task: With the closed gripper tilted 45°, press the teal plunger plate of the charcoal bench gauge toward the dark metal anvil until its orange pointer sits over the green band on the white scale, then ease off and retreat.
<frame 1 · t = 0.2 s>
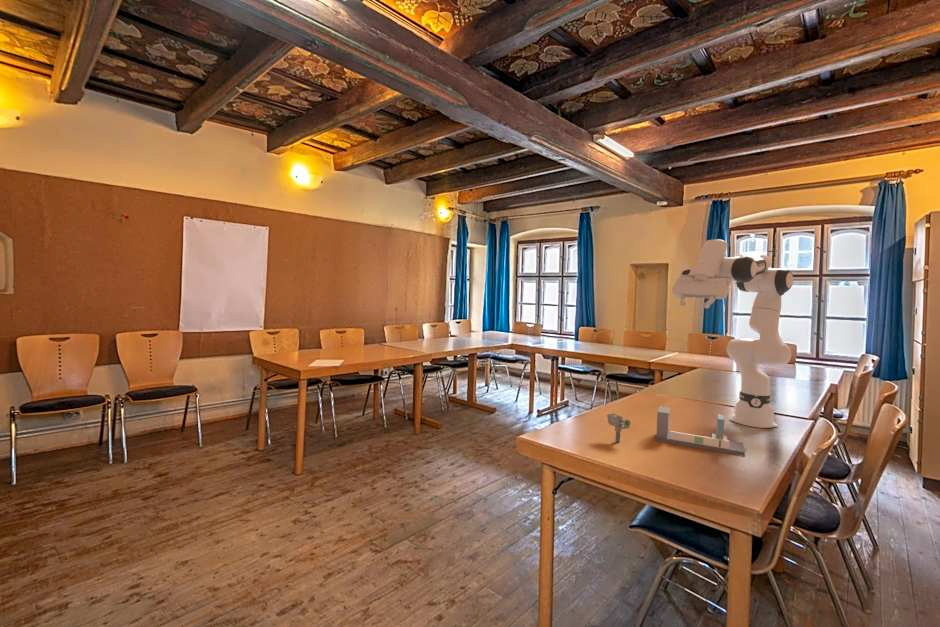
hand: (693, 306, 168), 54 cm above the table, tool tilted 30°, fingers open, 8 cm apart
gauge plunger: (720, 430, 167), point 7 cm above the table, slide at 0.0 cm
mechanical component: (617, 442, 170), on the table
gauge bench: (698, 443, 171), on the table
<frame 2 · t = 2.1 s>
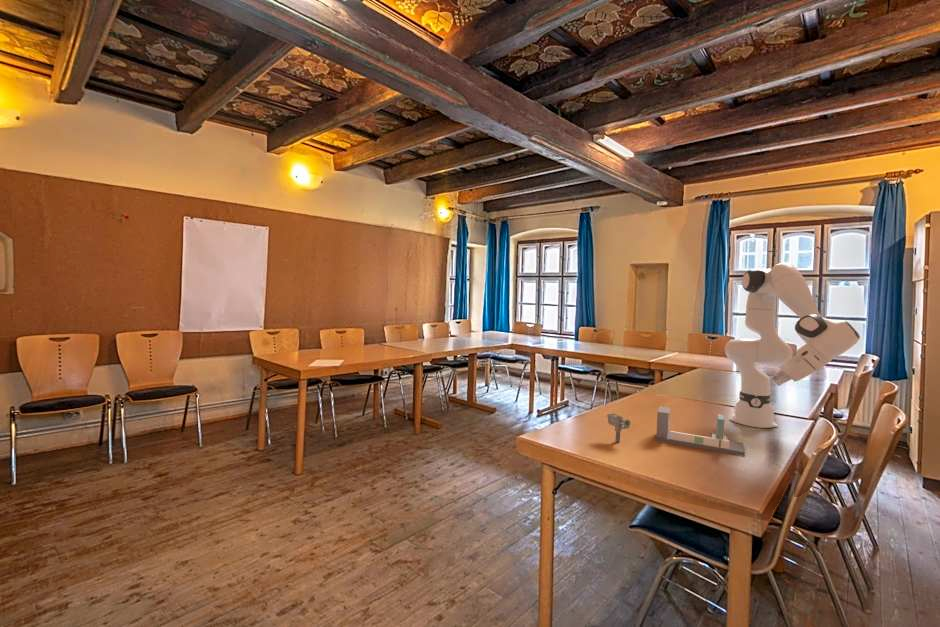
hand: (774, 382, 159), 27 cm above the table, tool tilted 45°, fingers open, 7 cm apart
nothing on the table moved.
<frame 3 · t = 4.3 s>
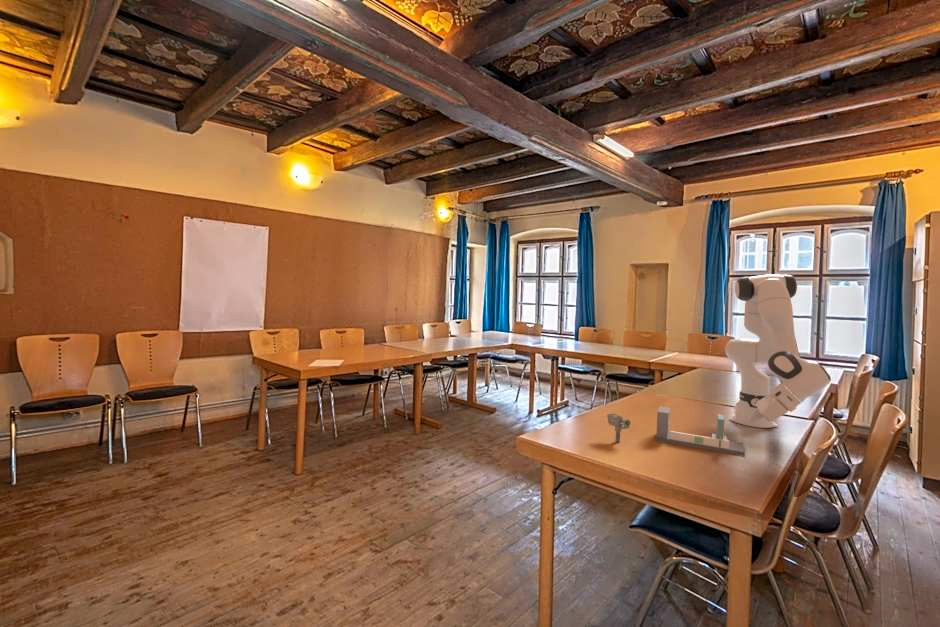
hand: (750, 419, 162), 12 cm above the table, tool tilted 45°, fingers closed
nothing on the table moved.
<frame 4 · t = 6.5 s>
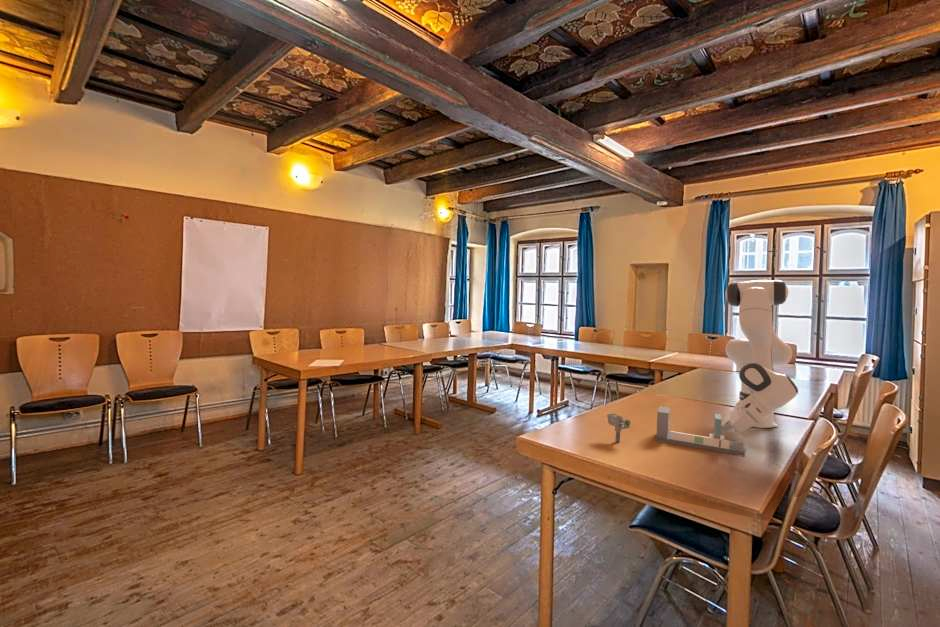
hand: (722, 429, 167), 7 cm above the table, tool tilted 45°, fingers closed, pressing on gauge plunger
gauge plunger: (717, 430, 167), point 7 cm above the table, slide at 0.9 cm, touching gripper
everything else where it was.
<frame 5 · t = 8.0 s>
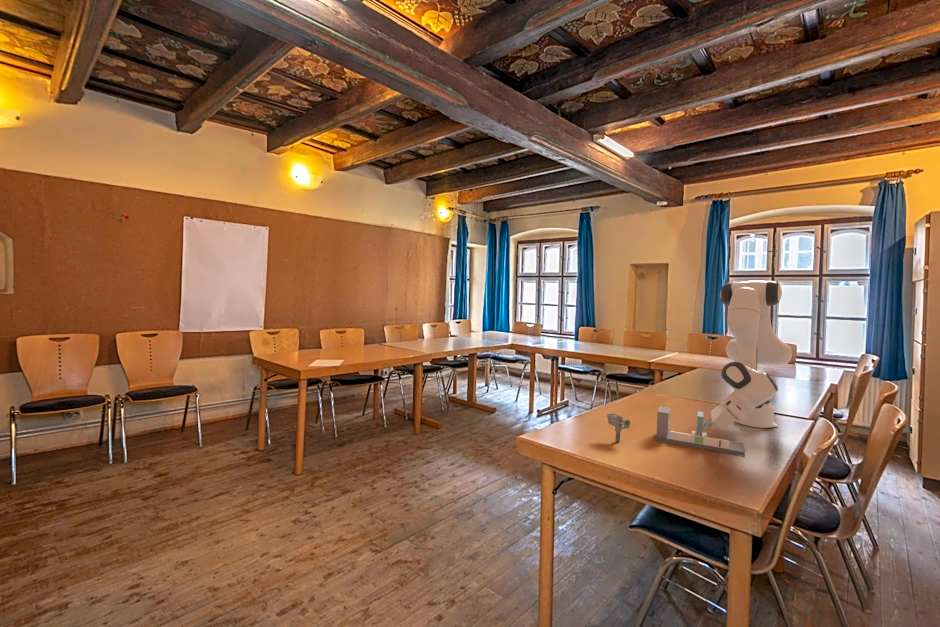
hand: (704, 427, 170), 7 cm above the table, tool tilted 45°, fingers closed, pressing on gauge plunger
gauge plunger: (699, 427, 170), point 7 cm above the table, slide at 6.9 cm, touching gripper
everything else where it was.
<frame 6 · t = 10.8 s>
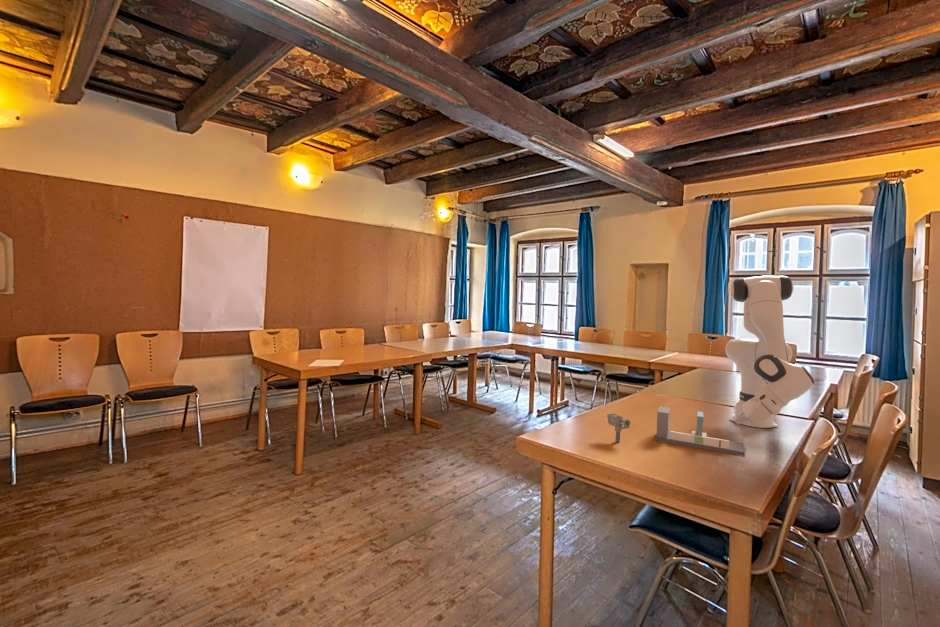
hand: (736, 421, 165), 11 cm above the table, tool tilted 45°, fingers closed
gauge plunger: (699, 427, 170), point 7 cm above the table, slide at 7.0 cm
everything else where it was.
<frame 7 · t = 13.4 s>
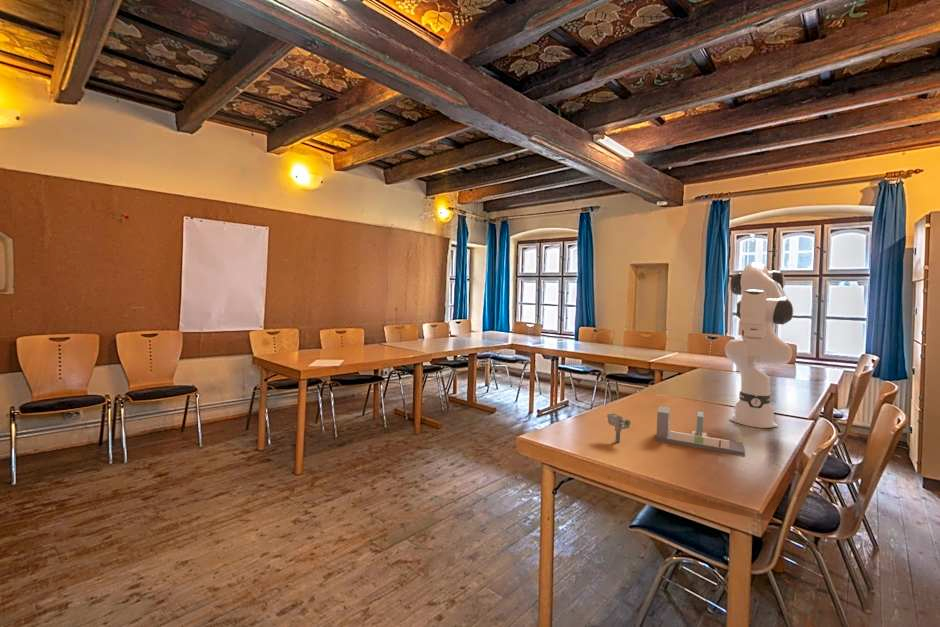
hand: (749, 366, 169), 31 cm above the table, tool pointing down, fingers closed
nothing on the table moved.
at the end: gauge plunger slide at 7.0 cm; the gripper is holding nothing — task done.
